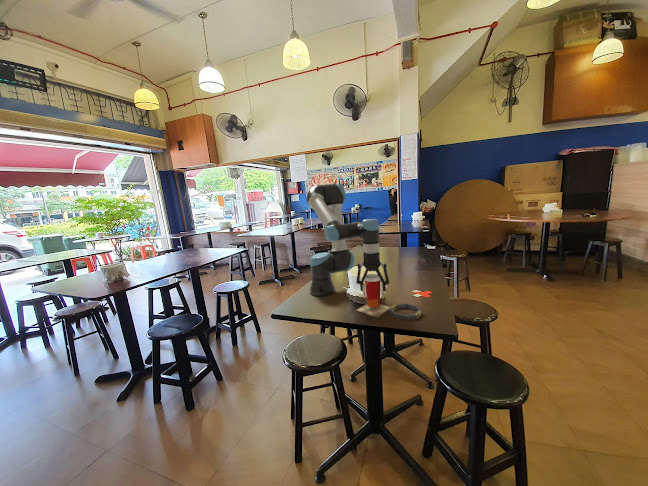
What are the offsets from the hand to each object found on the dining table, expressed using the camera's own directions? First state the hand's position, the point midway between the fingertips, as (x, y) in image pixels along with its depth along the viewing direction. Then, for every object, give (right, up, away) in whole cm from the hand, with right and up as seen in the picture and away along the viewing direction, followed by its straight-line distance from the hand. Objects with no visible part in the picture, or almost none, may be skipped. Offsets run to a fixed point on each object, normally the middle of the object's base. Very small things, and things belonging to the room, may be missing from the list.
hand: (373, 297), depth 122 cm
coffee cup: (0, -4, +1) cm, 4 cm away
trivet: (0, -6, +1) cm, 6 cm away
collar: (+14, -6, -5) cm, 16 cm away
